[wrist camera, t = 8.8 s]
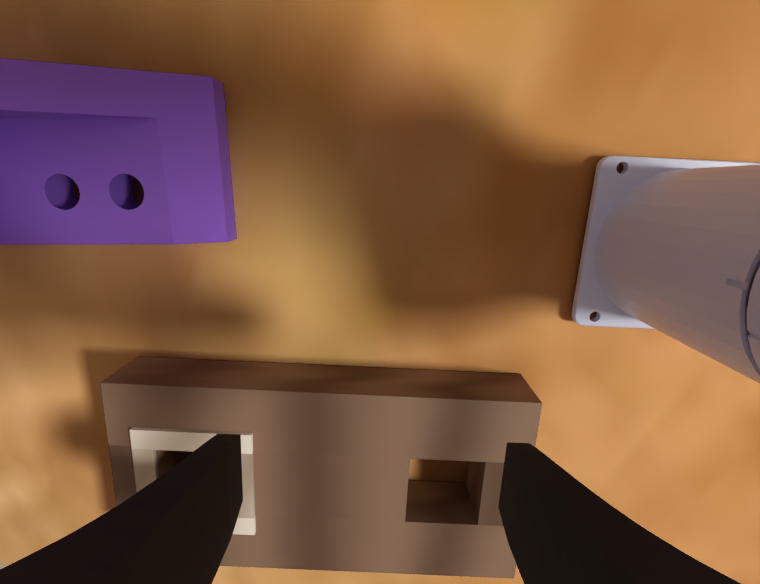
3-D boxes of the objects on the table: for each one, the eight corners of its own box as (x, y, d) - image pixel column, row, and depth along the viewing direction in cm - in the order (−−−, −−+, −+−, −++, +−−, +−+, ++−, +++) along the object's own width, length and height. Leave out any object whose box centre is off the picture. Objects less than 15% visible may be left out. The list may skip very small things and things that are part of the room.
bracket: (-3, 237, 20) (-189, 262, 14) (-38, 86, 19) (-270, 31, 12) (239, 237, 20) (169, 262, 14) (225, 85, 19) (139, 29, 12)
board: (520, 373, 22) (543, 405, 19) (498, 531, 24) (515, 582, 21) (138, 356, 22) (97, 384, 18) (155, 516, 24) (121, 564, 21)
